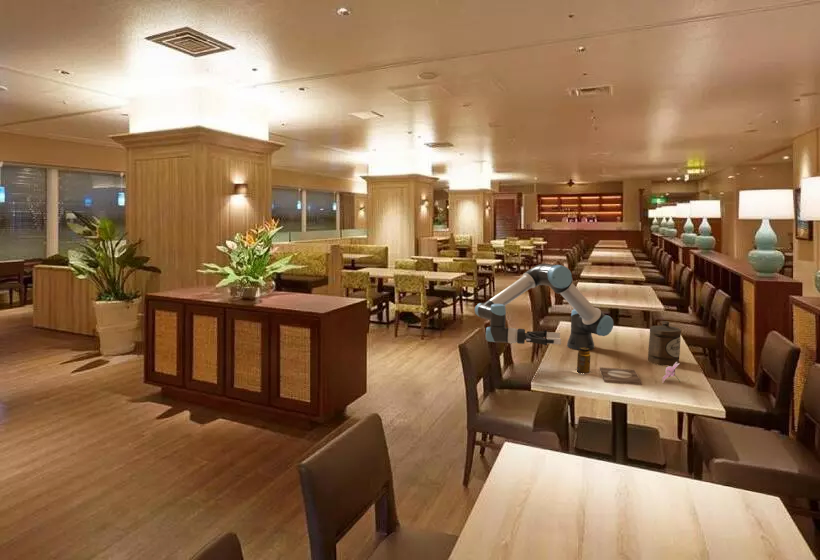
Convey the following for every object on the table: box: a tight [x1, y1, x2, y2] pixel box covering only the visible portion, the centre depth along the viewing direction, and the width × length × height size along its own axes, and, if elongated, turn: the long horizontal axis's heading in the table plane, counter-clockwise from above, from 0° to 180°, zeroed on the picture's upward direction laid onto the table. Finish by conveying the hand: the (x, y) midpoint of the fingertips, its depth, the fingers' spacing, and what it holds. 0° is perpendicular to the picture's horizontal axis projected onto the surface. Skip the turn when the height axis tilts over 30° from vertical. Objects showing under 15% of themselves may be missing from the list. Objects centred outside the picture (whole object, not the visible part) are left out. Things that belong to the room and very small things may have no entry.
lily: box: [661, 362, 681, 384], centre depth 241 cm, size 12×12×10 cm
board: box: [599, 366, 643, 386], centre depth 249 cm, size 20×16×1 cm
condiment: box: [576, 347, 594, 376], centre depth 256 cm, size 7×8×12 cm
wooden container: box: [647, 320, 682, 367], centre depth 273 cm, size 15×15×22 cm
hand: (560, 338), depth 258 cm, fingers open, 13 cm apart
